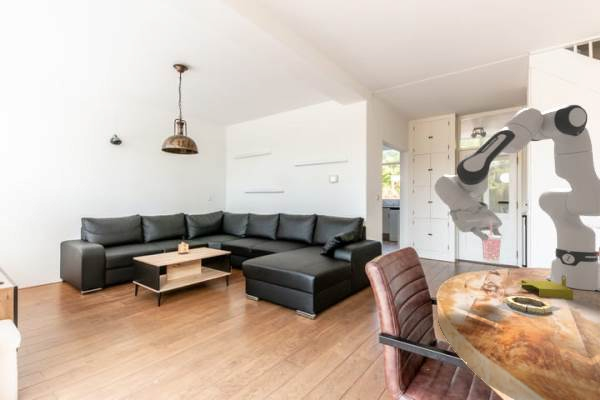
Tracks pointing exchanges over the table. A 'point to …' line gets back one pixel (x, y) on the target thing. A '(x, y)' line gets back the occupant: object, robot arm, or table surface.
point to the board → (523, 311)
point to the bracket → (549, 288)
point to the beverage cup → (491, 247)
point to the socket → (543, 309)
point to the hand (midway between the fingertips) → (493, 238)
